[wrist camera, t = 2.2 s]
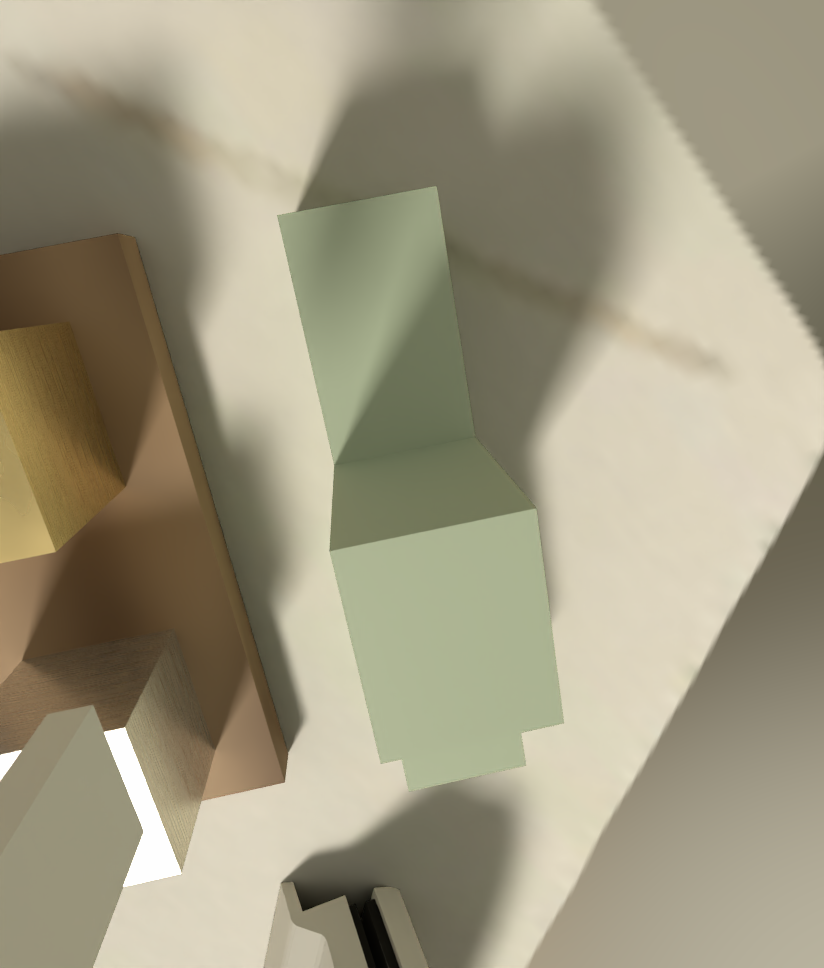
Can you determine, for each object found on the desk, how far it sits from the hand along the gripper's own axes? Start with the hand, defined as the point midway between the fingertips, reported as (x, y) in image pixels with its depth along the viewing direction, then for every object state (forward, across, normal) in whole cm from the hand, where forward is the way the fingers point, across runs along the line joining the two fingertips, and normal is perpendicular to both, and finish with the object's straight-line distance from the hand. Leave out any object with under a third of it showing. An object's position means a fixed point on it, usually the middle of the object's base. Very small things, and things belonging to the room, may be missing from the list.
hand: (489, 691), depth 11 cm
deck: (+12, +12, 0) cm, 16 cm away
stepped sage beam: (+12, 0, 0) cm, 12 cm away
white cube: (+10, +12, +5) cm, 16 cm away
